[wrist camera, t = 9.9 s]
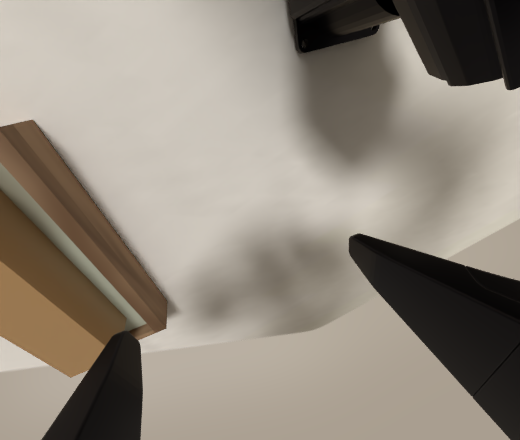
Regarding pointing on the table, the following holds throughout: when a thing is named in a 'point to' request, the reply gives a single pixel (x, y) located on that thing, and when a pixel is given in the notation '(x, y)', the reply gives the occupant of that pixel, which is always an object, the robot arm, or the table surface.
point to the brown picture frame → (77, 226)
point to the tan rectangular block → (49, 298)
